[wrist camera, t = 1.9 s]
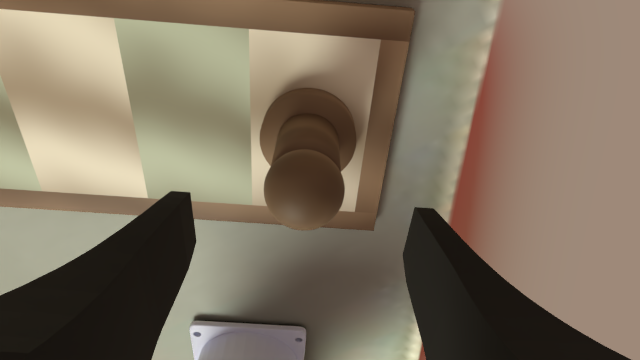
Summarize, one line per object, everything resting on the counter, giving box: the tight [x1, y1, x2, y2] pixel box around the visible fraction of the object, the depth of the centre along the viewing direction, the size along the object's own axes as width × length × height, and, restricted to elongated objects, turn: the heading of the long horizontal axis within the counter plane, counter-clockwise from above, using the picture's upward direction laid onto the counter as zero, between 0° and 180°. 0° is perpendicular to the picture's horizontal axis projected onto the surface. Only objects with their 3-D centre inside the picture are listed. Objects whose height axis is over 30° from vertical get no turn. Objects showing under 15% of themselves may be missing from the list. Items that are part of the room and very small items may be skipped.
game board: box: [0, 0, 415, 231], centre depth 19 cm, size 11×30×1 cm, turn 86°
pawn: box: [259, 88, 356, 230], centre depth 16 cm, size 4×4×6 cm
